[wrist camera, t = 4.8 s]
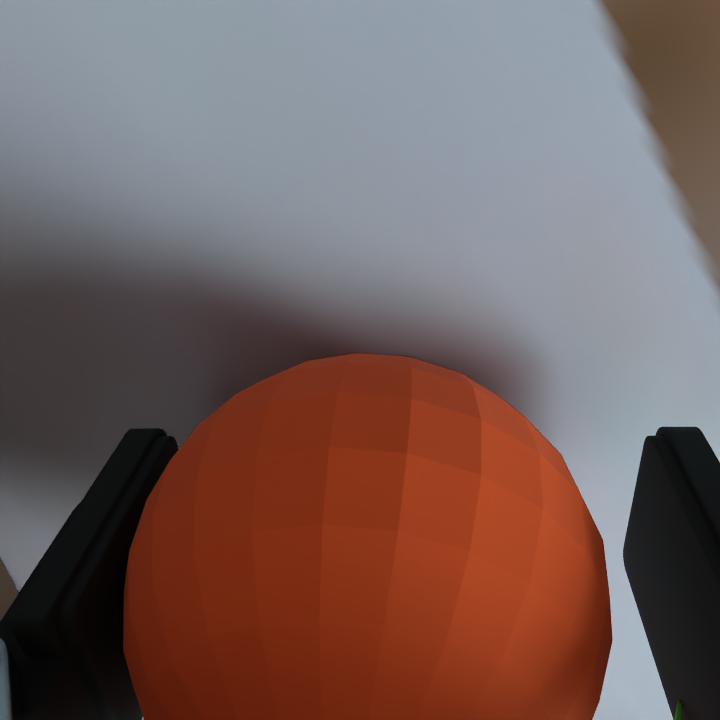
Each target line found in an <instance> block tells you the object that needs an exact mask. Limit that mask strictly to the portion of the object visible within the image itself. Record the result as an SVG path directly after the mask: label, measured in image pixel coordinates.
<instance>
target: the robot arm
mask: <svg viewBox="0 0 720 720" xmlns="http://www.w3.org/2000/svg"><path fill="white" fill-rule="evenodd" d="M178 450H179V449H178V446H177V443H176V440H175V438H174V437H171V436H167V434H166V432H165V431H164V430H163V429H160V428H148V429H130V430H128V432H127V433H126V434H125V435H124V437H123V438H122V440H121V441H120V443H119V445H118V446H117V448H116V449H115V451H114V452H113V454H112V455H111V457H110V458H109V460H108V461H107V463H106V464H105V466H104V467H103V469H102V471H101V472H100V474H99V475H98V477H97V478H96V480H95V481H94V483H93V484H92V486H91V487H90V489H89V490H88V492H87V493H86V495H85V497H84V498H83V500H82V501H81V503H79V504H78V506H77V507H76V508H75V509H74V510H73V512H72V513H71V515H70V516H69V518H68V519H67V521H66V522H65V524H64V525H63V527H62V528H61V530H60V531H59V533H58V534H57V536H56V537H55V539H54V541H53V542H52V544H51V545H50V547H49V548H48V550H47V551H46V553H45V554H44V556H43V557H42V559H41V560H40V562H39V563H38V565H37V566H36V568H35V569H34V571H33V572H32V574H31V575H30V577H29V579H28V580H27V582H26V583H25V585H24V586H23V588H22V589H21V591H20V592H19V594H18V595H17V597H16V598H15V600H14V601H13V603H12V604H11V606H10V607H9V609H8V610H7V612H6V613H5V615H4V617H3V618H2V620H1V621H0V720H142V717H143V714H142V711H141V708H140V705H139V702H138V699H137V696H136V693H135V690H134V687H133V684H132V680H131V677H130V673H129V669H128V666H127V662H126V659H125V655H124V652H123V609H124V585H125V578H126V571H127V564H128V557H129V550H130V547H131V544H132V542H133V539H134V536H135V533H136V530H137V527H138V524H139V521H140V518H141V515H142V512H143V509H144V506H145V503H146V500H147V498H148V497H149V495H150V493H151V492H152V490H153V488H154V486H155V485H156V483H157V481H158V480H159V478H160V476H161V475H162V473H163V471H164V470H165V468H166V466H167V465H168V463H169V461H170V460H171V459H172V457H173V456H174V455H175V454H176V452H177V451H178ZM623 558H624V566H625V570H626V573H627V576H628V579H629V582H630V586H631V589H632V592H633V595H634V598H635V601H636V604H637V607H638V610H639V614H640V617H641V620H642V623H643V626H644V629H645V632H646V635H647V638H648V642H649V645H650V648H651V651H652V654H653V657H654V660H655V663H656V666H657V670H658V673H659V676H660V679H661V682H662V685H663V688H664V691H665V694H666V698H667V701H668V704H669V707H670V710H671V713H672V716H673V719H674V718H675V713H676V708H677V703H678V700H680V703H681V716H680V720H720V462H719V461H718V459H717V457H716V455H715V454H714V452H713V450H712V449H711V447H710V445H709V443H708V442H707V440H706V438H705V437H704V435H703V433H702V432H701V430H700V429H699V428H697V427H661V428H659V429H658V431H657V433H656V436H647V437H646V439H645V442H644V446H643V451H642V457H641V462H640V467H639V472H638V477H637V482H636V487H635V492H634V497H633V502H632V507H631V512H630V517H629V522H628V527H627V532H626V538H625V543H624V549H623Z"/></svg>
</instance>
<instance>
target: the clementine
mask: <svg viewBox="0 0 720 720" xmlns="http://www.w3.org/2000/svg"><path fill="white" fill-rule="evenodd" d="M611 645H612V626H611V610H610V596H609V587H608V579H607V570H606V561H605V553H604V544H603V539H602V537H601V535H600V533H599V531H598V529H597V527H596V525H595V523H594V521H593V519H592V516H591V514H590V512H589V510H588V508H587V506H586V504H585V502H584V500H583V498H582V496H581V494H580V492H579V490H578V488H577V486H576V484H575V482H574V480H573V478H572V476H571V473H570V471H569V469H568V467H567V465H566V463H565V461H564V459H563V457H562V455H561V454H560V453H559V452H558V451H557V450H556V448H555V447H554V446H553V445H552V444H551V443H550V442H549V441H548V440H547V439H546V438H545V437H544V436H543V435H542V434H541V433H540V432H539V431H538V430H537V429H536V428H535V427H534V426H533V425H532V424H531V423H530V422H529V421H528V420H527V419H526V417H525V416H523V415H522V414H521V413H520V412H519V411H517V410H516V409H515V408H514V407H512V406H511V405H510V404H509V403H508V402H506V401H505V400H504V399H503V398H501V397H500V396H498V395H497V394H495V393H493V392H492V391H490V390H488V389H486V388H485V387H483V386H481V385H480V384H478V383H476V382H475V381H473V380H471V379H470V378H468V377H466V376H464V375H463V374H461V373H459V372H457V371H454V370H451V369H447V368H444V367H441V366H437V365H434V364H431V363H428V362H424V361H421V360H418V359H414V358H411V357H405V356H391V355H377V354H363V353H353V354H347V355H341V356H335V357H328V358H322V359H316V360H309V361H305V362H303V363H301V364H298V365H296V366H294V367H291V368H289V369H287V370H284V371H282V372H280V373H277V374H275V375H273V376H270V377H268V378H266V379H263V380H262V381H260V382H258V383H256V384H254V385H252V386H250V387H248V388H246V389H244V390H242V391H240V392H238V393H236V394H235V395H234V396H232V397H231V398H230V399H229V400H228V401H226V402H225V403H224V404H223V405H222V406H220V407H219V408H218V409H217V410H216V411H214V412H213V413H212V414H211V415H209V416H208V417H207V418H206V419H205V420H203V421H202V422H201V423H200V424H199V425H198V426H197V427H196V428H195V429H194V431H193V432H192V433H191V435H190V436H189V437H188V438H187V440H186V441H185V442H184V443H183V445H182V446H181V447H180V448H179V450H178V451H177V452H176V454H175V455H174V456H173V457H172V459H171V460H170V461H169V463H168V465H167V466H166V468H165V470H164V471H163V473H162V475H161V476H160V478H159V480H158V481H157V483H156V485H155V486H154V488H153V490H152V492H151V493H150V495H149V497H148V498H147V500H146V503H145V506H144V509H143V512H142V515H141V518H140V521H139V524H138V527H137V530H136V533H135V536H134V539H133V542H132V544H131V547H130V550H129V557H128V564H127V571H126V578H125V585H124V609H123V652H124V655H125V659H126V662H127V666H128V669H129V673H130V677H131V680H132V684H133V687H134V690H135V693H136V696H137V699H138V702H139V705H140V708H141V711H142V714H143V717H144V720H592V718H593V716H594V713H595V711H596V708H597V706H598V703H599V700H600V695H601V691H602V686H603V681H604V677H605V672H606V668H607V663H608V658H609V654H610V649H611ZM680 716H681V703H680V700H678V703H677V708H676V713H675V718H674V720H680Z"/></svg>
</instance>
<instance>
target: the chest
mask: <svg viewBox="0 0 720 720" xmlns="http://www.w3.org/2000/svg"><path fill="white" fill-rule="evenodd" d="M18 594H19V592H18V590H17V588H16V586H15V584H14V582H13V580H12V579H11V577H10V575H9V573H8V571H7V569H6V567H5V565H4V564H3V562H2V560H1V558H0V621H1V620H2V618H3V617H4V615H5V613H6V612H7V610H8V609H9V607H10V606H11V604H12V603H13V601H14V600H15V598H16V597H17V595H18Z"/></svg>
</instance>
